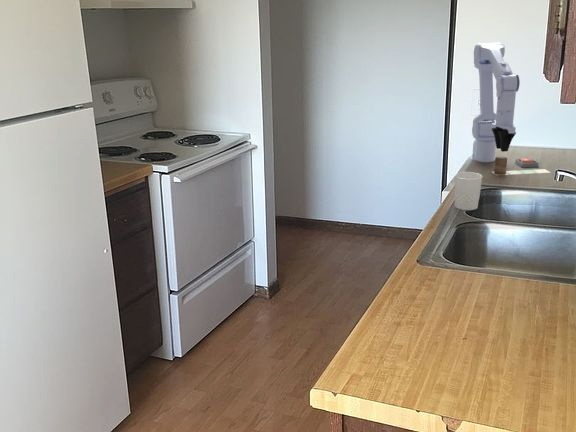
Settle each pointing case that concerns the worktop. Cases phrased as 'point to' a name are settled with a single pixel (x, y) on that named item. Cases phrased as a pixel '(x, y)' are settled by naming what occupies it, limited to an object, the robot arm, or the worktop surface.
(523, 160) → the button
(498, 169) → the brown wooden cylinder
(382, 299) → the worktop surface
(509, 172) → the board
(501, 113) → the robot arm
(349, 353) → the worktop surface
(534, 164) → the button housing
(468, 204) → the white cup
